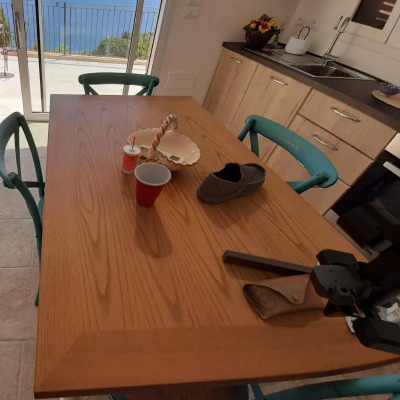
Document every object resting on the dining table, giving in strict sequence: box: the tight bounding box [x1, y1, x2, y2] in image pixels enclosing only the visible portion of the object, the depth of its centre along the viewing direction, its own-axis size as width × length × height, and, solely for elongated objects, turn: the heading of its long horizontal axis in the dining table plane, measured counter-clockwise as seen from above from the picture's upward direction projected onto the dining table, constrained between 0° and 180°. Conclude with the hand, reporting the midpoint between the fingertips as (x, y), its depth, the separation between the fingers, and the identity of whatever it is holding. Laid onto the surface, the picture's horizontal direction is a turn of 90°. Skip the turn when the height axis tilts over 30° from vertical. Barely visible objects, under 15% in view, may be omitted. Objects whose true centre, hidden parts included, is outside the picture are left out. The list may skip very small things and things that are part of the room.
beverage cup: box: [121, 135, 142, 175], centre depth 96 cm, size 6×6×14 cm
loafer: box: [195, 161, 267, 204], centre depth 91 cm, size 11×30×11 cm, turn 121°
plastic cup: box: [133, 161, 172, 208], centre depth 84 cm, size 11×11×12 cm
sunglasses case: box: [242, 274, 326, 320], centre depth 64 cm, size 18×7×7 cm, turn 102°
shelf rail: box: [221, 249, 314, 277], centre depth 70 cm, size 2×26×3 cm, turn 77°
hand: (326, 315), depth 54 cm, fingers closed
